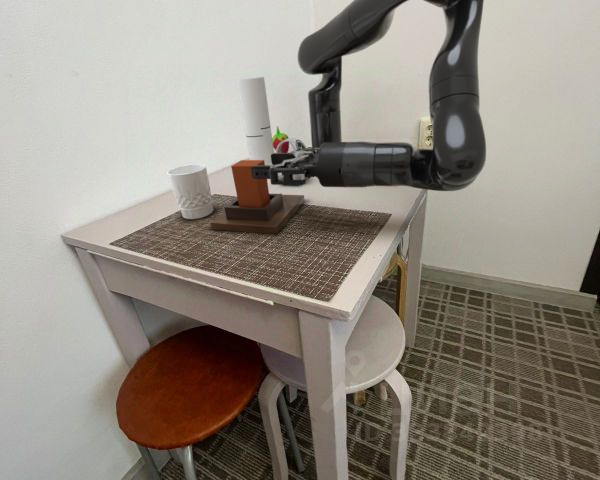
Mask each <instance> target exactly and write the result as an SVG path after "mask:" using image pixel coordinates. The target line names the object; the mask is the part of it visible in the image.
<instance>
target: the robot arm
mask: <svg viewBox="0 0 600 480" xmlns="http://www.w3.org/2000/svg"><path fill="white" fill-rule="evenodd" d="M409 1H410V0H352V1H351V2H350V3H349V4H348V5H347V6H345V7H344V9H342V10H341V11H340V12H339V13H338V14H336V15H335V16H334V17H332V19H331V20H330V21H329V22H327V23H326V24H325V25H324V26H323V27H321V28H319V29H318V30H316V31H315V32H313V33H310V34H309V35H307V36H306V37H304V39H303V40H302V41H301V42H300V44H299V47H298V50H297V56H296V57H297V64H298V66H299V69H300V70H301V71H302V72H303V73H304V74H306V75H309V76H318V75H321V79H320V81H319V82H318V84H317V85H316V86H314V87H313V88H311V89H309V90H308V92H307V101H308V102H307V103H308V114H309V128H310V139H311V148H307V149H297V150H296V151H293V150H291V151H289V152H288V153H276V152H274V153H273V154H271V162H272V164H273V165H254V166H252V167H251V173H252V177H253V178H254V179H267V180H270V185H273V186H276V185H277V186H279V185H282V186H289V185H299V186H300V185H301V186H303V185H305V184H307V181H306V180H309V179H311V178H314V177H316V178H317V180H318V182H319V184H320V186H321V187H323V188H353V189H354V188H359V189H360V188H370V187H384V188H385V187H386V188H387V187H388V188H391V187H392V188H396V187H397V188H398V187H408V188H412V189H413V188H414V189H419V190H426V191H427V190H428V191H436V192H458V191H460V190H464V189H467V188H468V187H470V186H471V185H472V184H473V183H474V182H475V180H477V178H478V176H479V175H480V174H481V172H482V171H483V169H484V167H485V165H486V160H487V142H486V141H487V140H486V135H485V130H484V125H483V121H482V116H481V113H480V112H481V111H480V108H481V106H480V105H481V101H480V80H479V79H480V78H479V46H480V45H479V43H480V35H481V28H482V27H481V26H482V19H483V11H484V1H485V0H423V1H424V2H426V3H428V4H430V5H433V6H435V7H437V8H441V9H442V13H443V16H444V21H445V22H444V23H445V36H444V39H443V42H442V45H441V46H440V48H439V50H438V52H437V53H436V55H435V57H434V59H433V62H432V64H431V68H430V71H429V75H428V109H429V111H428V112H429V119H430V123H431V126H432V148H417V147H415V146H414V145H413V144H411V143H410V142H404V141H389V142H388V141H387V142H373V141H362V140H361V141H359V140H358V141H343V138H342V136H343V135H342V112H341V111H342V110H341V108H342V107H341V91H342V85H343V79H342V77H343V76H342V75H343V72H342V71H343V57H345V56H350V55H352V54H357V53H358V52H362V51H364V50H366V49H368V48H370V47H371V46H373V45H375V44H376V43H378V42H379V41H381V40H382V39H383V38H384V37H385V36H386V35H387V34H388V33H389V30H390V29H391V27H392V24H393V20H394V17H395V13H396V9H398V8H399V7H400V6H402V5H403V4H405V3H406V2H407V3H408V2H409ZM289 167H290V168H289ZM281 173H282V174H283V175H281ZM279 174H280V175H279ZM283 179H284V180H283Z"/></svg>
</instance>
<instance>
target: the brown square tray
mask: <svg viewBox="0 0 600 480" xmlns="http://www.w3.org/2000/svg"><path fill="white" fill-rule="evenodd" d="M269 196H270V201H269V202H268V203H267V204H266V205H265V206H264V207H252V206H239V203H238V198H237V197H235V199H232V200H231V201H230V202H229V203H227V204H226V205H225V206H224V207H223V208H224V211H223V212H222V213H220V214H219V215H218V216H217V217H215V218H214V219H213V220H212V221H210V227H211V230H215V231H229V232H243V233H256V234H257V233H258V234H273V235H278V234H279V232H281V231H282V229H283V228H284V227H285V226H286V224H287V223H288V222H289V221H290V220H291V218H292V217H293V216H294V215H295V214H296V212H297V211H298V210H299V209H300V207H301V206H302V205H303V204H304V203H305V202H306V201H305V195H304V194H283V193H270V192H269Z"/></svg>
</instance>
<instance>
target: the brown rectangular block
mask: <svg viewBox="0 0 600 480" xmlns="http://www.w3.org/2000/svg"><path fill="white" fill-rule="evenodd" d="M254 165H265V163H264V160H250V159H241V160H239V161H238V162H236V163H234V164H232V165H231V172H232V177H233V183H234V188H235V191H236V192H235V193H236V198H238V203H239V206H252V207H264V206H265V205H266V204H267V203H268V202H269V201H270V196H269V193H270V190H269V184H268V183H269V182H268V179H254V178H253V177H252V173H251V167H252V166H254Z"/></svg>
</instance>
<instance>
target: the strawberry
mask: <svg viewBox="0 0 600 480" xmlns="http://www.w3.org/2000/svg"><path fill="white" fill-rule="evenodd" d="M288 138H289V136H288V134H286V133H283V132H281V131H280V129H279V126H278V125H277V126H276V133H275V134H274V135H273V136H272V142H273V149H274V151H276V149H277V146H278V145H279V143H281V142H282V141H284V140H286V139H288ZM289 149H290V143H289V142H288V141H287V142H284V143H283V144H282V145H281V150H280V151H281V153H289Z"/></svg>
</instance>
